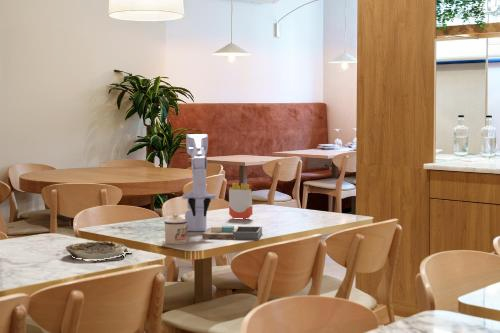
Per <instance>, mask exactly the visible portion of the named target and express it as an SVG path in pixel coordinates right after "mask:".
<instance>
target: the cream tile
mask: <svg viewBox="0 0 500 333" xmlns="http://www.w3.org/2000/svg"><path fill="white" fill-rule="evenodd" d="M223 226H224V225H212V226H210V228H211V232H222V227H223Z"/></svg>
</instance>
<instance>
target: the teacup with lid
mask: <svg viewBox="0 0 500 333" xmlns="http://www.w3.org/2000/svg"><path fill="white" fill-rule="evenodd" d="M163 223H164V243H165V244H166V245H185V244H186V243H187V233H188V232H189V231H188V225H187V224H186V223H187V221H186V220H185V218H183V217H181V216H179V214H177V213H174V214H173V215H172V216H171V217H169V218H168V219H165V220H164V222H163Z"/></svg>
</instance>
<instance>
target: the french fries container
mask: <svg viewBox="0 0 500 333" xmlns="http://www.w3.org/2000/svg"><path fill="white" fill-rule="evenodd" d="M231 185H232V186H229V189H228V215H229V216H230V217H231V218H232V219H233V218H243V219H245V220H247V219H246V218H248V219H249V218H250V217H251V216H253V199H252V197H253V195H252V188H250V184H246V185H245V184H244V183H243V182H242V183H240V185H239V183H238V182H232V184H231Z"/></svg>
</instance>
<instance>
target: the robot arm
mask: <svg viewBox="0 0 500 333" xmlns="http://www.w3.org/2000/svg"><path fill="white" fill-rule="evenodd" d="M185 137H186V139H185V141H186V143H185V144H186V152H187V154H188V155H189V156H191V170H192V188H191V190H189V191H188V193H185V194H182V196H181V198H182V200H186V202H187V203H186V204H187V210H185V213H184V219H185V220H186V221H187V223H186V224H187V225H188V231H187V232H205V231H206V230H207V229H209V228H210V227H207V226H208V225H207V214H208V213H207V212H208V210H209V209H210V205H211V201H212V200H213V201H214V200H217V194H210V193H209V192H208V190H207V170H208V158H207V155H206V154H207V153H208V151H209V149H208V146H209V135H208V134H207V133H201V134H199V133H195V134H192V133H191V134H189V133H187V134H186V136H185Z"/></svg>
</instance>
